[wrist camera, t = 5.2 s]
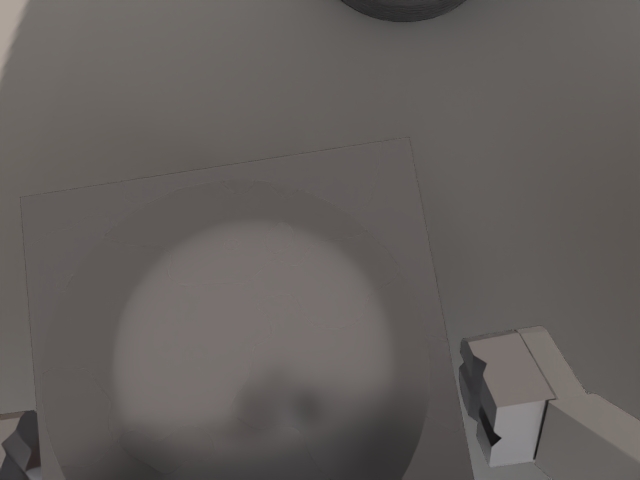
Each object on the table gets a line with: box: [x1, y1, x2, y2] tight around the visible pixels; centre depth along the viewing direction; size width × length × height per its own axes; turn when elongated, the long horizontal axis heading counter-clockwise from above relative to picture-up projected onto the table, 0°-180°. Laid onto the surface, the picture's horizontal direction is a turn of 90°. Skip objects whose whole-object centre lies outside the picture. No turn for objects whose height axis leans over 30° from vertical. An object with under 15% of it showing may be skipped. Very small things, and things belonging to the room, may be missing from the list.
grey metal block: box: [20, 137, 474, 480], centre depth 12 cm, size 6×6×10 cm
